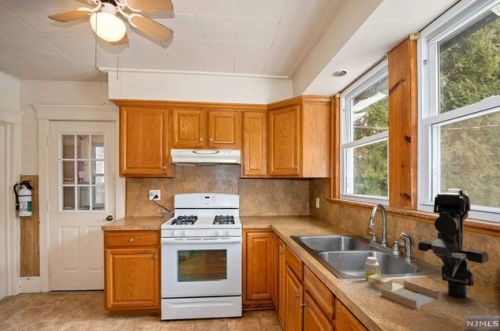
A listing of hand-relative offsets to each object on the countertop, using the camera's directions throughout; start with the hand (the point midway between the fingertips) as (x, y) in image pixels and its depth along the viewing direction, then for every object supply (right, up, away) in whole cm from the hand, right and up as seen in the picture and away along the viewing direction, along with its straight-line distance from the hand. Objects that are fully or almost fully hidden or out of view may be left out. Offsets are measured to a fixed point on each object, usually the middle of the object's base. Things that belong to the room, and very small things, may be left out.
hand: (451, 276), depth 90 cm
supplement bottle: (-14, -14, +27) cm, 33 cm away
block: (-16, -11, +16) cm, 26 cm away
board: (-11, -13, +12) cm, 21 cm away
